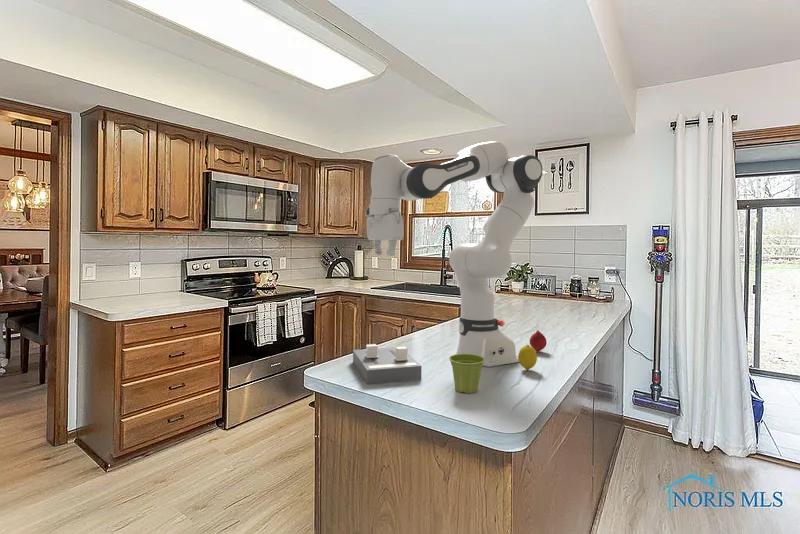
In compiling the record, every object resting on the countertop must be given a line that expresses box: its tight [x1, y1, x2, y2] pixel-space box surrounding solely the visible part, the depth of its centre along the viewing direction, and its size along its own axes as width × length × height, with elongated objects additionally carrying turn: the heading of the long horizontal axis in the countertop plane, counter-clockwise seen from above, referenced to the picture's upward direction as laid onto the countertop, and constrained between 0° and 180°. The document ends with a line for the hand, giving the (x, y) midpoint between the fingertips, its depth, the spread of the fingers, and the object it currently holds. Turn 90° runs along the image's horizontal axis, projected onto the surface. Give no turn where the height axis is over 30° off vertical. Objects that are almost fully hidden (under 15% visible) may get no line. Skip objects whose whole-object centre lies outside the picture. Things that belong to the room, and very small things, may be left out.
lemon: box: [518, 344, 538, 371], centre depth 134 cm, size 6×6×8 cm
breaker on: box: [394, 346, 409, 361], centre depth 129 cm, size 4×3×4 cm
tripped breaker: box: [365, 343, 379, 358], centre depth 132 cm, size 4×3×4 cm
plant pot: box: [448, 354, 485, 394], centre depth 116 cm, size 9×9×9 cm
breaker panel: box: [352, 346, 422, 385], centre depth 132 cm, size 16×22×4 cm
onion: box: [529, 329, 547, 353], centre depth 156 cm, size 6×6×8 cm
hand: (384, 255), depth 130 cm, fingers open, 8 cm apart
